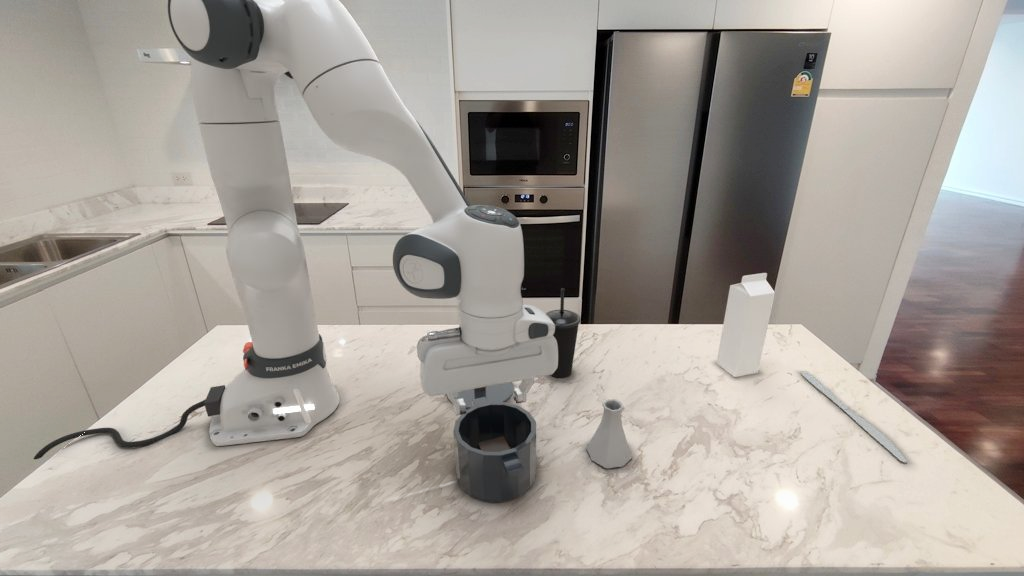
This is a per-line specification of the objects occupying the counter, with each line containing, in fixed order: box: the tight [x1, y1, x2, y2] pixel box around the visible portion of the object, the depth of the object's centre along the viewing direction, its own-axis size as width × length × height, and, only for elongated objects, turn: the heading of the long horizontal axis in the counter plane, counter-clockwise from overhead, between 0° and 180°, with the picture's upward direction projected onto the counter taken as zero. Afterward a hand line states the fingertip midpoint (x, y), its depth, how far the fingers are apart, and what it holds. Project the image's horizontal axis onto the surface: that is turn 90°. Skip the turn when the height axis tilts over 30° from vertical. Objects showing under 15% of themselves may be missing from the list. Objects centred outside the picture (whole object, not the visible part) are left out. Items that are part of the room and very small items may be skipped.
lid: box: [446, 382, 514, 410], centre depth 97 cm, size 14×14×6 cm
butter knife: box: [800, 370, 908, 464], centre depth 90 cm, size 1×27×3 cm
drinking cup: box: [545, 287, 582, 380], centre depth 100 cm, size 8×8×20 cm
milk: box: [716, 272, 776, 378], centre depth 101 cm, size 6×6×22 cm
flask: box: [586, 398, 633, 469], centre depth 79 cm, size 7×7×10 cm
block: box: [478, 436, 511, 452], centre depth 76 cm, size 4×4×4 cm
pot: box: [452, 397, 537, 504], centre depth 76 cm, size 13×18×9 cm
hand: (490, 406), depth 72 cm, fingers open, 8 cm apart
